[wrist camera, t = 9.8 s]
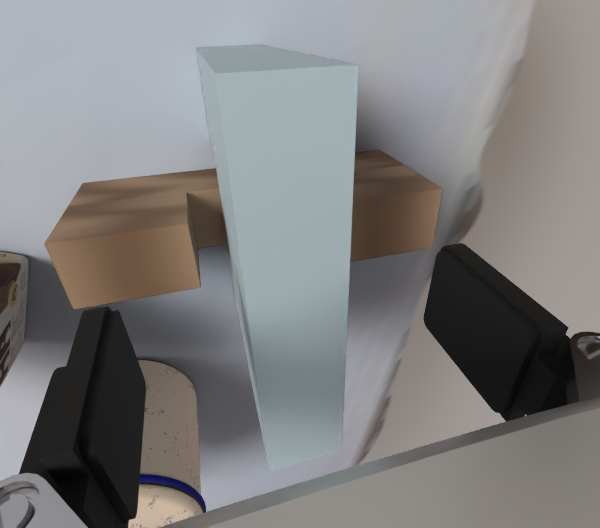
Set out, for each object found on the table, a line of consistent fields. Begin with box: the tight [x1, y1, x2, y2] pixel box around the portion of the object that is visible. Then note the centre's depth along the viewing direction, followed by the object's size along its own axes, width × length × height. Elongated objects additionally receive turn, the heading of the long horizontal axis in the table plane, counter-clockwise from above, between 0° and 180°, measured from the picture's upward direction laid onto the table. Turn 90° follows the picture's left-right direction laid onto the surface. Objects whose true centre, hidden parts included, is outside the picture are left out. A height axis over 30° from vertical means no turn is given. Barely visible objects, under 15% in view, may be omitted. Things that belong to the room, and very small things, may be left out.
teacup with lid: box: [128, 360, 206, 528], centre depth 23 cm, size 12×9×12 cm
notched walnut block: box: [45, 150, 443, 309], centre depth 19 cm, size 16×3×6 cm, turn 93°
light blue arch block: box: [196, 45, 359, 472], centre depth 16 cm, size 14×3×12 cm, turn 3°
